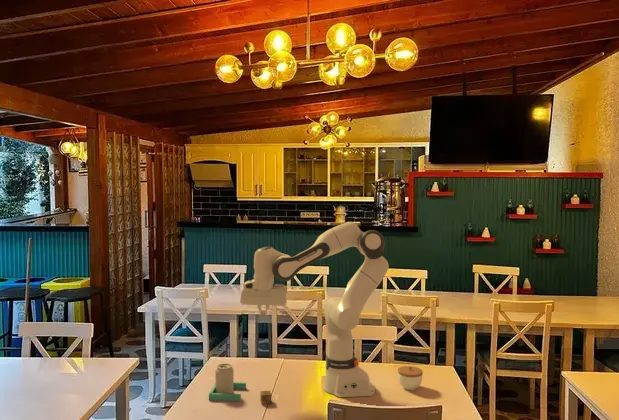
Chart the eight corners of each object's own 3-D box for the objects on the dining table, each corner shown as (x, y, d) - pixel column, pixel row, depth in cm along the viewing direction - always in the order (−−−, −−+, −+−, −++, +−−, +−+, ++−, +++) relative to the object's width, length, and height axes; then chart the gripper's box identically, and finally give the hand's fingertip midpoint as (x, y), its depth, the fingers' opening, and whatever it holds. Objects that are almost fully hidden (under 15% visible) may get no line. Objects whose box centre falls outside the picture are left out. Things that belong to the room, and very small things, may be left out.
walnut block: (270, 400, 207) (270, 390, 207) (271, 404, 203) (271, 394, 203) (260, 400, 206) (260, 391, 206) (261, 405, 202) (261, 395, 202)
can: (227, 388, 218) (227, 361, 217) (236, 393, 212) (237, 365, 212) (212, 393, 213) (212, 365, 212) (221, 398, 207) (221, 370, 206)
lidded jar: (406, 380, 229) (407, 360, 229) (427, 387, 221) (427, 366, 221) (392, 387, 221) (393, 366, 221) (413, 394, 214) (413, 373, 213)
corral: (246, 388, 218) (246, 382, 218) (240, 401, 205) (240, 395, 205) (216, 387, 219) (216, 381, 219) (208, 400, 206) (208, 394, 206)
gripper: (287, 282, 223) (287, 313, 224) (242, 281, 224) (242, 312, 225) (286, 285, 217) (286, 317, 218) (239, 284, 218) (239, 316, 219)
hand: (263, 314), depth 221 cm, fingers closed
